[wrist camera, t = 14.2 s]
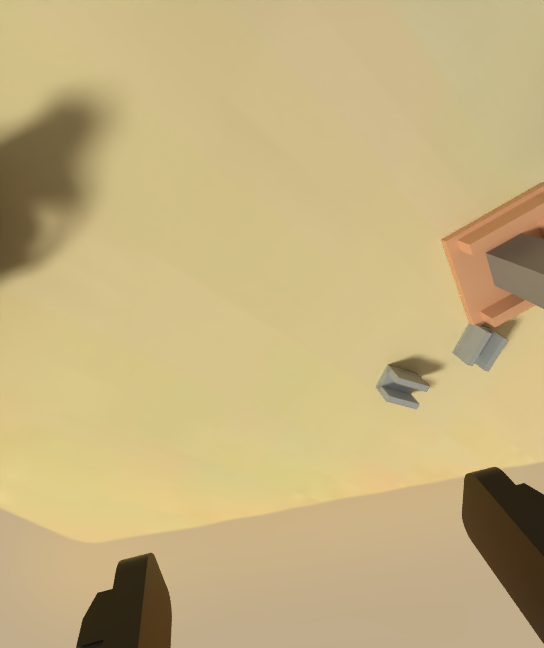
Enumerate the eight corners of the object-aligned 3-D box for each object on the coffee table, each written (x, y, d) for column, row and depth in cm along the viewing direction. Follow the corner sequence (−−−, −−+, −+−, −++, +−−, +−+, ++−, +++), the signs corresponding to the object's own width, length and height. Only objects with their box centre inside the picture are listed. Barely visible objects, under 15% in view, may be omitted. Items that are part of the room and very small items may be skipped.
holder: (470, 325, 45) (486, 336, 43) (441, 239, 41) (457, 246, 38) (560, 275, 45) (582, 283, 42) (541, 182, 40) (564, 185, 38)
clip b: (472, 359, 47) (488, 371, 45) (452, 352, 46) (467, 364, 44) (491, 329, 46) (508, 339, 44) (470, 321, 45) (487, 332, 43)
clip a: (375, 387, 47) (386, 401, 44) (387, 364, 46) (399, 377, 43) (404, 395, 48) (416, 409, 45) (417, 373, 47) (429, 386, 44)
